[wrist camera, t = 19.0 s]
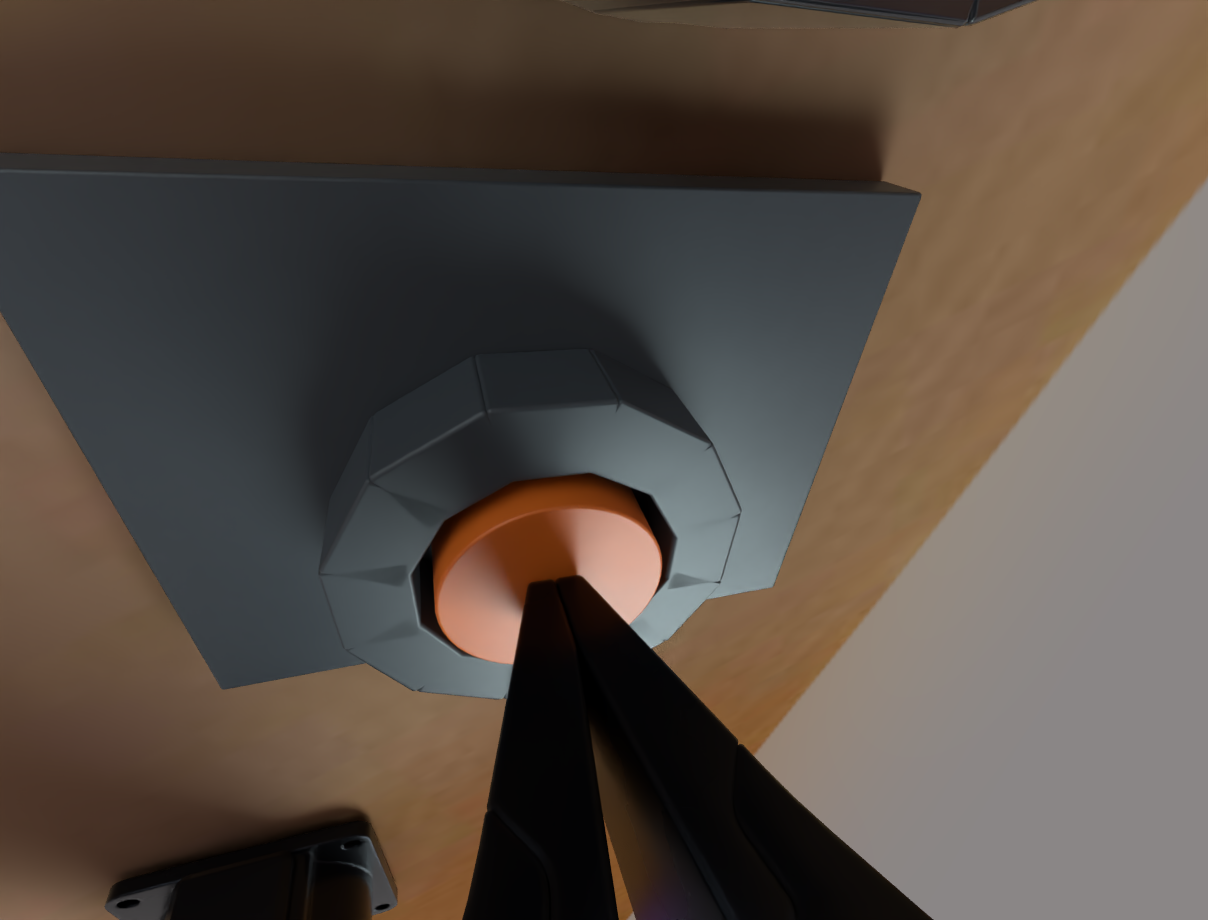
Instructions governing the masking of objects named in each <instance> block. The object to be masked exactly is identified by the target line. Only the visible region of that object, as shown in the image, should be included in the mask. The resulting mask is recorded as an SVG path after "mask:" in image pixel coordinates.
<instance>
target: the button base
mask: <svg viewBox="0 0 1208 920" xmlns="http://www.w3.org/2000/svg"><path fill="white" fill-rule="evenodd" d="M920 199H921V193H919V192H916V191H913V190H910V189H907V188H904V187H901V186H897V185H894V184H891V183H888V182H884V181H853V180H823V179H792V178H762V177H731V176H700V175H670V174H639V173H608V172H578V171H547V170H516V169H486V168H455V167H424V166H394V165H363V164H333V163H302V162H271V161H241V160H210V159H179V158H149V157H118V156H87V155H57V154H26V153H0V312H1V313H2V315H3V317H4V319H5V320H6V322H7V324H8V325H9V327H10V329H11V331H12V332H13V334H14V336H15V337H16V339H17V341H18V342H19V344H20V346H21V348H22V349H23V351H24V353H25V354H26V356H27V358H28V360H29V361H30V363H31V365H32V366H33V368H34V370H35V371H36V373H37V375H38V377H39V378H40V380H41V382H42V383H43V385H44V387H45V389H46V390H47V392H48V394H49V395H50V397H51V399H52V400H53V402H54V404H55V406H56V407H57V409H58V411H59V412H60V414H61V416H62V418H63V419H64V421H65V423H66V424H67V426H68V428H69V430H70V431H71V433H72V435H73V436H74V438H75V440H76V441H77V443H78V445H79V447H80V448H81V450H82V452H83V453H84V455H85V457H86V459H87V460H88V462H89V464H90V465H91V467H92V469H93V470H94V472H95V474H96V476H97V477H98V479H99V481H100V482H101V484H102V486H103V488H104V489H105V491H106V493H107V494H108V496H109V498H110V499H111V501H112V503H113V505H114V506H115V508H116V510H117V511H118V513H119V515H120V517H121V518H122V520H123V522H124V523H125V525H126V527H127V528H128V530H129V532H130V534H131V535H132V537H133V539H134V540H135V542H136V544H137V546H138V547H139V549H140V551H141V552H142V554H143V556H144V558H145V559H146V561H147V563H148V564H149V566H150V568H151V569H152V571H153V573H154V575H155V576H156V578H157V580H158V581H159V583H160V585H161V587H162V588H163V590H164V592H165V593H166V595H167V597H168V598H169V600H170V602H171V604H172V605H173V607H174V609H175V610H176V612H177V614H178V616H179V617H180V619H181V621H182V622H183V624H184V626H185V627H186V629H187V631H188V633H189V634H190V636H191V638H192V639H193V641H194V643H195V645H196V646H197V648H198V650H199V651H200V653H201V655H202V657H203V658H204V660H205V662H206V663H207V665H208V667H209V668H210V670H211V672H212V674H213V675H214V677H215V679H216V680H217V682H218V684H219V686H220V687H221V689H230V688H235V687H240V686H246V685H251V684H256V683H262V682H267V681H272V680H278V679H283V678H289V677H294V676H299V675H305V674H310V673H315V672H321V671H326V670H331V669H337V668H342V667H347V666H353V665H358V664H364V663H367V664H369V665H370V666H372V667H374V668H375V669H377V670H379V671H380V672H382V673H384V674H385V675H387V676H389V677H390V678H392V679H394V680H395V681H397V682H399V683H401V684H402V685H404V686H406V687H407V688H409V689H411V690H412V691H416V690H417V691H419V692H427V693H437V694H447V695H457V696H468V697H478V698H488V699H498V700H499V699H502V698H504V699H507V695H508V689H509V684H510V679H511V673H512V668H513V664H503V663H496V662H491V661H487V660H483V659H480V658H477V657H475V656H472V655H470V654H468V653H466V652H464V651H463V650H461V649H460V648H458V647H457V646H456V645H454V644H453V643H452V642H451V641H450V640H449V639H448V638H447V636H446V635H445V634H444V633H443V631H442V629H441V627H440V625H439V623H438V621H437V617H436V614H435V602H434V584H433V565H432V547H431V542H432V541H433V539H434V538H435V536H436V534H437V533H438V531H439V529H440V528H441V526H442V525H443V523H444V521H446V520H447V519H449V518H451V517H453V516H454V515H456V514H458V513H460V512H461V511H463V510H465V509H467V508H468V507H470V506H472V505H474V504H475V503H477V502H479V501H481V500H482V499H484V498H486V497H488V496H489V495H491V494H493V493H495V492H496V491H498V490H500V489H502V488H503V487H505V486H507V485H509V484H510V483H512V482H516V481H525V480H534V479H542V478H551V477H560V476H569V475H577V474H586V473H592V474H595V475H597V476H600V477H603V478H606V479H608V480H611V481H614V482H616V483H619V484H622V485H624V486H627V487H630V488H631V490H632V492H633V494H634V496H635V498H636V500H637V502H638V504H639V506H640V508H641V510H642V512H643V514H644V516H645V518H646V520H647V522H648V524H649V526H650V528H651V530H652V532H653V534H654V536H655V538H656V540H657V542H658V544H659V547H660V551H661V554H662V572H661V578H660V581H659V585H658V587H657V589H656V592H655V594H654V596H653V597H652V599H651V601H650V602H649V604H648V605H647V606H646V608H645V609H644V610H643V611H642V613H641V614H640V615H639V616H638V617H637V618H636V619H635V620H634V621H633V622H632V623H630V624H629V626H630V627H631V628H632V629H633V630H634V631H635V632H636V633H637V634H638V635H639V636H640V637H641V638H642V639H643V640H644V641H645V642H646V643H647V645H648V646H649V647H650V648H651V649H652V648H653V647H655V646H657V645H659V644H661V643H663V642H664V641H665V640H668V639H669V638H670V637H671V636H672V635H673V634H674V633H675V632H676V631H677V630H678V629H679V628H680V627H681V625H682V624H683V623H684V622H685V621H686V620H687V619H688V618H689V617H690V616H691V615H692V614H693V613H694V612H695V611H696V610H697V608H698V607H699V606H700V605H701V604H702V603H703V602H704V601H705V600H706V599H712V598H717V597H722V596H728V595H733V594H739V593H744V592H749V591H755V590H760V589H765V588H771V587H773V586H774V583H775V581H776V578H777V576H778V573H779V570H780V568H781V565H782V562H783V560H784V557H785V554H786V552H787V549H788V547H789V544H790V541H791V539H792V536H793V533H794V531H795V528H796V525H797V523H798V520H799V518H800V515H801V512H802V510H803V507H804V504H805V502H806V499H807V496H808V494H809V491H810V489H811V486H812V483H813V481H814V478H815V475H816V473H817V470H818V468H819V465H820V462H821V460H822V457H823V454H824V452H825V449H826V446H827V444H828V441H829V439H830V436H831V433H832V431H833V428H834V425H835V423H836V420H837V417H838V415H839V412H840V410H841V407H842V404H843V402H844V399H845V396H846V394H847V391H848V388H849V386H850V383H851V381H852V378H853V375H854V373H855V370H856V367H857V365H858V362H859V360H860V357H861V354H862V352H863V349H864V346H865V344H866V341H867V338H868V336H869V333H870V331H871V328H872V325H873V323H874V320H875V317H876V315H877V312H878V309H879V307H880V304H881V302H882V299H883V296H884V294H885V291H886V288H887V286H888V283H889V280H890V278H891V275H892V273H893V270H894V267H895V265H896V262H897V259H898V257H899V254H900V252H901V249H902V246H903V244H904V241H905V238H906V236H907V233H908V230H909V228H910V225H911V223H912V220H913V217H914V215H915V212H916V209H917V207H918V204H919V201H920Z"/></svg>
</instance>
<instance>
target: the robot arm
mask: <svg viewBox="0 0 1208 920" xmlns="http://www.w3.org/2000/svg"><path fill="white" fill-rule="evenodd" d="M487 811H488V812H486V814H485V818H484V823H483V829H482V834H481V840H480V845H479V850H478V855H477V859H476V864H475V869H474V873H473V878H472V882H471V887H470V892H469V896H468V901H467V904H466V908H465V912H464V915H463V919H462V920H619V918H618V912H617V905H616V898H615V892H614V885H613V879H612V872H611V865H610V859H609V852H608V845H607V839H606V832H605V826H604V820H605V823H606V826H607V829H608V833H609V836H610V839H611V842H612V845H613V848H614V852H615V855H616V858H617V861H618V864H619V867H620V870H621V874H622V877H623V880H624V883H625V886H626V889H627V893H628V896H629V899H630V902H631V905H632V908H633V911H634V915H635V918H636V920H933V919H932V918H931V917H930V916H928V915H927V914H926V913H925V912H924V911H922V910H921V909H920V908H919V907H918V906H917V905H915V904H914V903H913V902H912V901H911V900H910V899H909V898H908V897H906V896H905V895H904V894H903V893H902V892H901V891H900V890H898V889H897V888H896V887H895V886H894V885H893V884H892V883H890V882H889V881H888V880H887V879H886V878H885V877H883V876H882V875H881V874H880V873H879V872H878V871H877V870H875V869H874V868H873V867H872V866H871V865H870V864H868V863H867V862H866V861H865V860H864V859H863V858H862V857H861V856H859V855H858V854H857V853H856V852H855V851H854V850H853V849H851V848H850V847H849V846H848V845H847V844H846V843H844V842H843V841H842V840H841V839H840V838H839V837H837V835H835V834H834V833H833V832H832V831H831V830H830V829H829V828H827V827H826V826H825V825H824V824H823V823H822V822H821V821H820V820H819V819H818V818H816V817H815V816H814V815H813V814H812V813H811V812H810V811H809V810H808V809H807V808H805V807H804V806H803V805H802V804H801V803H800V802H799V801H798V800H797V799H796V798H794V797H793V796H792V795H791V794H790V793H789V792H788V791H787V790H786V789H785V788H784V787H783V786H782V785H781V784H780V783H779V782H778V781H777V780H776V779H775V778H774V777H773V776H772V775H771V774H770V773H769V772H768V771H767V770H766V769H765V768H764V767H763V766H762V764H761V763H760V762H759V761H758V760H757V759H756V758H755V757H754V756H753V755H752V754H751V753H750V752H749V751H748V750H747V748H746V747H745V746H744V745H742V744H739V745H738V740H737V738H736V737H735V736H734V735H733V734H732V733H731V732H730V731H729V730H728V729H727V728H726V727H725V726H724V725H723V723H722V722H721V721H720V720H719V719H718V718H717V717H716V716H715V715H714V714H713V713H712V712H711V711H710V710H709V709H708V708H707V707H706V706H705V705H704V703H703V702H702V701H701V700H700V699H699V698H698V697H697V696H696V695H695V694H694V693H693V692H692V691H691V690H690V689H689V688H688V687H687V686H686V685H685V683H684V682H683V681H682V680H681V679H680V678H679V677H678V676H677V675H676V674H675V673H674V672H673V671H672V670H671V669H670V668H669V667H668V666H667V665H666V663H665V662H664V661H663V660H662V659H661V658H660V657H659V656H658V655H657V654H656V653H655V652H654V651H653V650H652V649H651V648H650V647H649V646H648V645H647V643H646V642H645V641H644V640H643V639H642V638H641V637H640V636H639V635H638V634H637V633H636V632H635V631H634V630H633V629H632V628H631V627H630V626H629V624H628V623H627V622H626V621H625V620H624V619H623V618H622V617H621V616H620V615H619V614H618V613H617V612H616V611H615V610H614V609H613V608H612V607H611V606H610V604H609V603H608V602H607V601H606V600H605V599H604V598H603V597H602V596H601V595H600V594H599V593H598V592H597V591H596V590H595V589H594V588H593V587H592V586H591V584H590V583H589V582H588V581H587V580H586V579H585V578H584V577H582V576H580V575H572V576H566V577H560V578H558V579H556V581H554V580H552V579H548V580H542V581H536V582H531V583H529V585H528V587H527V592H526V597H525V603H524V608H523V613H522V619H521V624H520V630H519V635H518V641H517V646H516V651H515V657H514V662H513V668H512V673H511V679H510V684H509V689H508V695H507V700H506V706H505V711H504V717H503V722H502V727H501V733H500V738H499V744H498V749H497V755H496V760H495V765H494V771H493V776H492V782H491V787H490V792H489V798H488V803H487ZM603 817H604V819H603ZM396 905H397V887H396V884H395V882H394V880H393V877H392V875H391V872H390V870H389V867H388V865H387V862H386V860H385V858H384V855H383V853H382V850H381V848H380V845H379V843H378V840H377V838H376V836H375V833H374V831H373V828H372V826H371V824H370V823H369V822H365V821H355V822H349V823H346V824H342V825H338V826H334V827H330V828H326V829H322V830H318V831H314V832H310V833H306V834H302V835H298V836H295V837H291V838H287V839H283V840H279V841H275V842H271V843H267V844H263V845H259V846H255V847H251V848H248V849H244V850H240V851H236V852H232V853H228V854H224V855H220V856H216V857H212V858H208V859H204V860H200V861H197V862H193V863H189V864H185V865H181V866H177V867H173V868H169V869H165V870H161V871H157V872H153V873H149V874H146V875H142V876H138V877H134V878H130V879H126V880H123V881H120V882H118V883H116V884H114V885H113V886H112V887H111V889H110V892H109V895H108V898H107V901H106V904H105V909H106V910H107V911H108V912H110V913H111V914H113V915H114V916H115V917H117V918H118V919H119V920H372V915H375V914H378V913H382V912H385V911H388V910H390V909H392V908H394V907H395V906H396Z"/></svg>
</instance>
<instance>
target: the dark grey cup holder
mask: <svg viewBox="0 0 1208 920" xmlns="http://www.w3.org/2000/svg"><path fill="white" fill-rule="evenodd" d="M561 1H563V2H566V3H568V4H571V5H574V6H576V7H579V8H582V9H584V10H587V11H590V12H592V13H595V14H598V15H607V16H612V17H617V18H622V19H627V20H632V21H637V22H648V23H680V24H689V25H698V26H707V27H716V28H725V29H779V28H958V27H961V26H972V25H975V24H977V23H980V22H983V21H985V20H988V19H990V18H993V17H996V16H998V15H1001V14H1004V13H1006V12H1009V11H1012V10H1014V9H1017V8H1020V7H1022V6H1025V5H1028V4H1030V3H1033V2H1036V1H1038V0H561Z"/></svg>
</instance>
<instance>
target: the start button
mask: <svg viewBox="0 0 1208 920" xmlns="http://www.w3.org/2000/svg"><path fill="white" fill-rule="evenodd" d="M431 547H432V565H433V584H434V602H435V614H436V617H437V621H438V623H439V625H440V627H441V629H442V631H443V633H444V634H445V635H446V636H447V638H448V639H449V640H450V641H451V642H452V643H453V644H454V645H456V646H457V647H458V648H460V649H461V650H463V651H464V652H466V653H468V654H470V655H472V656H475V657H477V658H480V659H483V660H487V661H491V662H496V663H503V664H513V662H514V657H515V651H516V646H517V641H518V635H519V630H520V624H521V619H522V613H523V608H524V603H525V597H526V592H527V587H528V585H529V583H531V582H536V581H542V580H548V579H552V580H554V581H556V579H558V578H560V577H566V576H572V575H580V576H582V577H584V578H585V579H586V580H587V581H588V582H589V583H590V584H591V586H592V587H593V588H594V589H595V590H596V591H597V592H598V593H599V594H600V595H601V596H602V597H603V598H604V599H605V600H606V601H607V602H608V603H609V604H610V606H611V607H612V608H613V609H614V610H615V611H616V612H617V613H618V614H619V615H620V616H621V617H622V618H623V619H624V620H625V621H626V622H627V623H628V624H630V623H632V622H633V621H634V620H635V619H636V618H637V617H638V616H639V615H640V614H641V613H642V611H643V610H644V609H645V608H646V606H647V605H648V604H649V602H650V601H651V599H652V597H653V596H654V594H655V592H656V589H657V587H658V585H659V581H660V578H661V572H662V554H661V551H660V547H659V544H658V542H657V540H656V538H655V536H654V534H653V532H652V530H651V528H650V526H649V524H648V522H647V520H646V518H645V516H644V514H643V512H642V510H641V508H640V506H639V504H638V502H637V500H636V498H635V496H634V494H633V492H632V490H631V488H630V487H627V486H624V485H622V484H619V483H616V482H614V481H611V480H608V479H606V478H603V477H600V476H597V475H595V474H592V473H586V474H577V475H569V476H560V477H551V478H542V479H534V480H525V481H516V482H512V483H510V484H509V485H507V486H505V487H503V488H502V489H500V490H498V491H496V492H495V493H493V494H491V495H489V496H488V497H486V498H484V499H482V500H481V501H479V502H477V503H475V504H474V505H472V506H470V507H468V508H467V509H465V510H463V511H461V512H460V513H458V514H456V515H454V516H453V517H451V518H449V519H447V520H446V521H444V523H443V525H442V526H441V528H440V529H439V531H438V533H437V534H436V536H435V538H434V539H433V541H432V542H431Z"/></svg>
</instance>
